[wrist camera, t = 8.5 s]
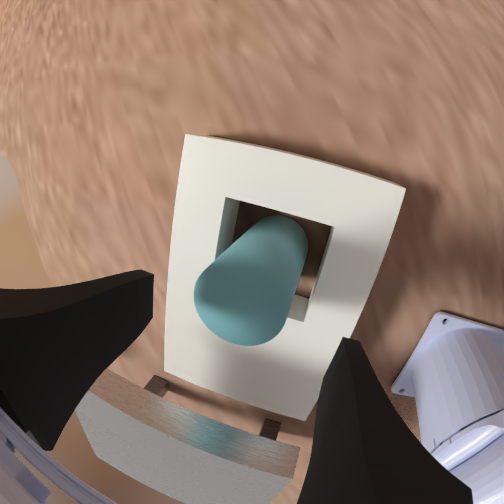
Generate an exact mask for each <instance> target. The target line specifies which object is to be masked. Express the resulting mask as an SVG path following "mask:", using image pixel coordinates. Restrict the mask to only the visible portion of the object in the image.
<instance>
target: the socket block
mask: <svg viewBox="0 0 504 504" xmlns="http://www.w3.org/2000/svg"><path fill="white" fill-rule="evenodd" d="M405 191H406V188H404V187H402V186H400V185H398V184H397V183H395V182H392V181H389V180H386V179H383V178H380V177H377V176H374V175H371V174H368V173H364V172H361V171H358V170H355V169H351V168H348V167H345V166H341V165H338V164H334V163H331V162H327V161H323V160H320V159H316V158H312V157H308V156H304V155H300V154H296V153H292V152H288V151H284V150H279V149H275V148H271V147H266V146H261V145H256V144H252V143H247V142H241V141H236V140H231V139H225V138H220V137H214V136H208V135H193V134H186V135H185V141H184V147H183V153H182V159H181V165H180V172H179V179H178V186H177V194H176V201H175V209H174V218H173V227H172V237H171V247H170V258H169V270H168V284H167V299H166V319H165V349H164V371H166V372H168V373H170V374H173V375H175V376H177V377H179V378H182V379H184V380H186V381H189V382H191V383H193V384H196V385H198V386H201V387H203V388H206V389H208V390H211V391H213V392H216V393H218V394H221V395H224V396H226V397H229V398H232V399H235V400H238V401H240V402H243V403H246V404H249V405H252V406H255V407H258V408H261V409H264V410H268V411H271V412H274V413H278V414H281V415H284V416H288V417H291V418H295V419H299V420H303V421H305V420H306V419H307V417H308V415H309V414H310V412H311V410H312V409H313V407H314V405H315V403H316V402H317V400H318V398H319V393H320V389H321V385H322V380H323V377H324V375H325V373H326V371H327V369H328V367H329V365H330V363H331V361H332V359H333V357H334V355H335V352H336V350H337V348H338V346H339V344H340V342H341V340H342V337H346V338H350V336H351V334H352V332H353V330H354V328H355V326H356V323H357V321H358V319H359V317H360V314H361V312H362V310H363V308H364V305H365V303H366V301H367V298H368V296H369V293H370V291H371V289H372V286H373V284H374V281H375V279H376V276H377V274H378V271H379V268H380V266H381V263H382V260H383V258H384V255H385V252H386V250H387V247H388V244H389V241H390V238H391V235H392V232H393V229H394V226H395V223H396V220H397V217H398V214H399V211H400V207H401V204H402V201H403V197H404V194H405ZM240 201H244V202H247V203H251V204H255V205H259V206H263V207H266V208H270V209H274V210H277V211H281V212H285V213H288V214H292V215H295V216H299V217H302V218H306V219H309V220H313V221H316V222H320V223H323V224H327V225H330V226H332V228H331V231H330V235H329V238H328V241H327V245H326V248H325V251H324V254H323V258H322V261H321V264H320V267H319V270H318V273H317V276H316V280H315V283H314V286H313V289H312V292H311V295H310V298H309V299H308V298H305V297H302V296H298V295H294V298H293V301H292V304H291V307H290V310H289V313H288V316H287V319H286V322H285V324H284V327H283V328H282V330H281V331H280V333H279V334H278V335H277V336H276V337H275V338H273V339H272V340H270V341H268V342H266V343H263V344H260V345H255V346H242V345H237V344H233V343H230V342H228V341H225V340H223V339H221V338H220V337H218V336H217V335H215V334H214V333H213V332H212V331H210V330H209V329H208V328H207V327H206V325H205V324H204V323H203V321H202V320H201V318H200V317H199V315H198V313H197V310H196V307H195V303H194V287H195V284H196V281H197V279H198V277H199V276H200V274H201V273H202V272H203V271H204V270H205V269H206V268H207V267H208V266H209V265H210V264H211V263H213V262H214V261H215V260H216V259H217V258H218V257H219V256H220V255H221V254H222V253H223V252H224V251H226V250H227V249H228V248H229V247H230V246H231V245H232V241H233V235H234V230H235V225H236V219H237V214H238V209H239V204H240Z"/></svg>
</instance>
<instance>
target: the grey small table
mask: <svg viewBox="0 0 504 504" xmlns="http://www.w3.org/2000/svg"><path fill="white" fill-rule="evenodd" d="M167 391H168V381H166V380H164V379H162V378H160V377H158V376H155V375H154V376H153V377H152V379H151V380H150V381H149V382H148V384H147V385H146V386H145V387H144V388H142V387H140V386H138V385H136V384H134V383H132V382H130V381H128V380H127V379H125V378H123V377H121V376H119V375H118V374H116V373H114V372H112V371H111V370H109V369H107V368H106V369H105V370H104V371H103V373H102V374H101V375H100V376H99V377H98V378H97V380H96V381H95V382H94V383H93V385H92V386H91V387H90V389H89V390H88V391H87V393H86V394H85V396H84V397H83V398H82V400H81V401H80V403H79V404H78V406H77V407H76V409H75V411H76V413H77V416H78V418H79V421H80V423H81V425H82V427H83V430H84V432H85V434H86V436H87V438H88V440H89V442H90V444H91V446H92V448H93V450H94V452H95V454H96V456H97V457H99V458H100V459H102V460H103V461H105V462H107V463H108V464H110V465H111V466H113V467H115V468H116V469H118V470H120V471H121V472H123V473H125V474H126V475H128V476H130V477H132V478H134V479H135V480H137V481H139V482H141V483H143V484H145V485H147V486H149V487H151V488H153V489H155V490H157V491H159V492H161V493H163V494H165V495H167V496H170V497H172V498H174V499H176V500H179V501H181V502H183V503H186V504H269V503H270V502H271V501H272V500H273V499H274V498H275V497H276V496H277V495H278V494H279V493H280V492H281V491H282V490H283V489H284V488H285V487H286V485H287V484H288V483H289V482H290V481H291V480H292V479H293V475H294V471H295V467H296V463H297V459H298V455H299V451H300V447H297V446H293V445H289V444H286V443H282V442H278V441H276V438H277V435H278V432H279V428H280V425H281V423H278V422H274V421H271V420H268V419H265V420H264V423H263V425H262V427H261V430H260V433H259V436H258V435H255V434H252V433H249V432H246V431H243V430H240V429H237V428H234V427H231V426H229V425H226V424H223V423H220V422H218V421H215V420H213V419H210V418H207V417H205V416H203V415H200V414H198V413H195V412H193V411H190V410H188V409H186V408H184V407H181V406H179V405H177V404H175V403H172V402H170V401H168V400H166V399H164V398H163V397H164V395H165V394H166V392H167Z"/></svg>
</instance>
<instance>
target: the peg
mask: <svg viewBox="0 0 504 504" xmlns="http://www.w3.org/2000/svg"><path fill="white" fill-rule="evenodd" d="M307 253H308V239H307V236H306V233H305V231H304V230H303V228H302V227H301V226H300V225H299V224H298V223H297V222H296V221H294V220H293V219H291V218H289V217H286V216H282V215H270V216H266V217H264V218H262V219H260V220H259V221H257V222H256V223H255V224H254V225H253V226H252V227H251V228H250V229H249V230H247V231H246V232H245V233H244V234H243V235H242V236H241V237H240V238H239V239H238V240H236V241H235V242H234V243H233V244H232V245H231V246H230V247H229V248H228V249H227V250H226V251H224V252H223V253H222V254H221V255H220V256H219V257H218V258H217V259H216V260H215V261H214V262H213V263H211V264H210V265H209V266H208V267H207V268H206V269H205V270H204V271H203V272H202V273H201V274H200V276H199V277H198V279H197V281H196V284H195V287H194V303H195V307H196V310H197V313H198V315H199V317H200V318H201V320H202V321H203V323H204V324H205V325H206V327H207V328H208V329H209V330H210V331H212V332H213V333H214V334H215V335H217V336H218V337H220V338H221V339H223V340H225V341H228V342H230V343H233V344H237V345H242V346H255V345H260V344H263V343H266V342H268V341H270V340H272V339H273V338H275V337H276V336H277V335H278V334H279V333H280V331H281V330H282V328H283V327H284V324H285V322H286V319H287V316H288V313H289V310H290V307H291V304H292V301H293V298H294V295H295V292H296V289H297V286H298V283H299V279H300V276H301V273H302V270H303V267H304V263H305V260H306V257H307Z"/></svg>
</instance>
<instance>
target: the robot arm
mask: <svg viewBox="0 0 504 504" xmlns="http://www.w3.org/2000/svg"><path fill="white" fill-rule="evenodd" d="M153 283H154V274H151V273H149V272H146V271H144V270H134V271H129V272H125V273H120V274H116V275H112V276H108V277H104V278H99V279H95V280H91V281H86V282H81V283H76V284H72V285H66V286H60V287H52V288H42V289H1V288H0V504H48V503H47V502H45V500H46V498H47V497H48V496H49V495H50V493H51V491H50V490H49V489H48V488H47V487H46V486H45V485H44V484H43V483H42V482H40V481H39V480H38V479H37V478H36V477H35V476H34V475H33V474H32V473H31V472H30V471H29V469H28V468H27V467H26V466H25V465H24V464H23V463H22V462H21V461H20V460H19V459H18V458H17V457H16V456H15V455H14V452H15V450H14V448H15V449H16V450H17V451H18V452H19V453H20V454H21V455H22V456H23V457H24V458H25V459H26V460H27V461H28V462H30V464H32V465H33V466H34V467H35V468H36V469H37V470H38V471H39V472H40V473H42V474H43V475H44V476H45V477H46V478H47V479H48V480H50V481H51V482H52V483H53V484H54V485H56V486H57V487H58V488H59V489H61V490H62V491H63V492H65V493H66V494H67V495H68V496H70V497H71V498H72V499H74V500H75V501H77V502H78V503H79V504H117V503H115V502H114V501H112V500H111V499H109V498H107V497H106V496H104V495H102V494H101V493H99V492H98V491H96V490H95V489H93V488H92V487H90V486H89V485H87V484H86V483H85V482H83V481H82V480H80V479H79V478H77V477H76V476H75V475H74V474H72V473H71V472H70V471H68V470H67V469H66V468H64V467H63V466H62V465H61V464H59V463H58V462H57V461H56V460H54V459H53V458H52V457H51V456H50V455H48V454H47V453H46V452H45V451H51V450H53V448H54V446H55V444H56V442H57V440H58V438H59V436H60V434H61V432H62V430H63V428H64V427H65V425H66V423H67V422H68V420H69V418H70V416H71V415H72V413H73V412H74V410H75V409H76V407H77V406H78V404H79V403H80V401H81V400H82V398H83V397H84V396H85V394H86V393H87V391H88V390H89V389H90V387H91V386H92V385H93V383H94V382H95V381H96V380H97V378H98V377H99V376H100V375H101V374H102V373H103V371H104V370H105V369H106V368H107V367H108V366H109V365H110V364H111V363H112V362H113V361H114V360H115V359H116V358H117V357H118V356H119V355H120V354H121V353H122V352H124V351H125V350H126V349H127V348H128V347H129V346H130V345H131V344H132V343H133V342H134V341H135V340H136V338H137V337H138V336H139V335H140V334H141V333H142V331H143V330H144V329H145V328H146V326H147V325H148V323H149V322H150V321H151V319H152V318H153ZM446 318H447V320H446V321H445V322H442V321H443V320H444V319H446ZM400 389H402V390H400ZM391 392H392V393H394V394H399V395H405V396H410V397H415V402H416V407H417V414H418V420H419V427H420V434H421V442H422V444H421V443H420V442H419V440H418V439H417V438H416V437H415V436H414V434H413V433H412V432H411V431H410V429H409V428H408V427H407V425H406V424H405V422H404V421H403V420H402V418H401V417H400V415H399V414H398V413H397V411H396V410H395V408H394V406H393V405H392V403H391V401H390V400H389V398H388V396H387V395H386V393H385V391H384V389H383V388H382V386H381V384H380V382H379V380H378V378H377V376H376V374H375V372H374V370H373V368H372V366H371V364H370V362H369V360H368V358H367V356H366V354H365V352H364V350H363V348H362V346H361V344H360V342H359V341H357V340H353V339H350V338H346V337H342V340H341V342H340V344H339V346H338V348H337V350H336V352H335V355H334V357H333V359H332V361H331V363H330V365H329V367H328V369H327V371H326V373H325V375H324V377H323V380H322V385H321V389H320V393H319V398H318V403H317V412H316V421H315V429H314V437H313V445H312V452H311V457H310V462H309V466H308V470H307V473H306V477H305V480H304V484H303V487H302V490H301V493H300V496H299V499H298V502H297V504H504V330H503V329H499V328H496V327H492V326H489V325H486V324H482V323H479V322H475V321H472V320H469V319H465V318H462V317H458V316H455V315H452V314H448V313H445V312H437V313H435V315H434V316H433V318H432V320H431V322H430V323H429V325H428V327H427V329H426V331H425V333H424V334H423V336H422V338H421V340H420V341H419V343H418V345H417V347H416V348H415V350H414V352H413V353H412V355H411V357H410V358H409V360H408V361H407V363H406V365H405V366H404V368H403V369H402V371H401V372H400V374H399V375H398V377H397V378H396V380H395V381H394V383H393V384H392V386H391ZM18 426H19V427H20V428H21V429H20V428H19V427H18ZM23 431H24V432H25V433H26V434H27V435H28V436H29V437H28V436H27V435H26V434H25V433H24V432H23ZM39 446H40V447H41V448H40V447H39ZM44 450H45V451H44Z"/></svg>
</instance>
